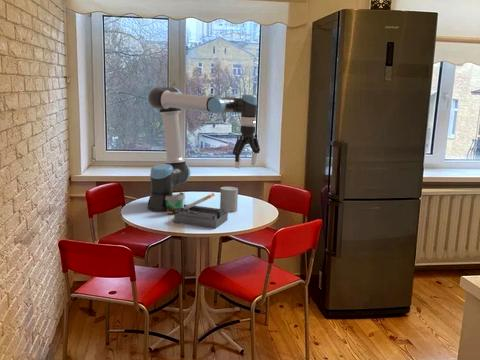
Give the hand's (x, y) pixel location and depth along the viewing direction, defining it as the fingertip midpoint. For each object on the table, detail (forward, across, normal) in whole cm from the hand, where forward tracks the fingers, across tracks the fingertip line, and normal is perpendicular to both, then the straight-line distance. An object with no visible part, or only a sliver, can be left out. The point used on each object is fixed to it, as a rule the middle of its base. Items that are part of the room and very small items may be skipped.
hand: (245, 166), depth 245 cm
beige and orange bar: (+17, -25, +9) cm, 32 cm away
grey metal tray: (+26, -24, +8) cm, 37 cm away
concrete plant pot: (+26, +2, +12) cm, 29 cm away
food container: (+27, -22, +26) cm, 44 cm away
